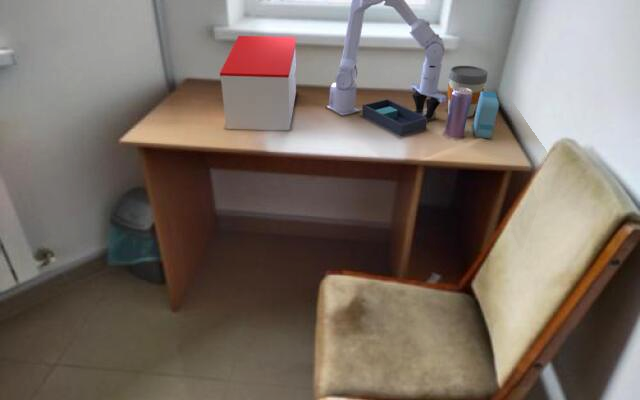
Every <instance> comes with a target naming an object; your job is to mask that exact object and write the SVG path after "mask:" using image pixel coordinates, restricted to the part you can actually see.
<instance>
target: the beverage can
mask: <svg viewBox="0 0 640 400" xmlns="http://www.w3.org/2000/svg"><path fill="white" fill-rule="evenodd" d="M471 98H472V90H471V89H468V88H464V87H457V88H454V89H453V92H452V96H451V101H450V106H449V111H448V110H447V117H446V123H445V128H444V134H445V136H447V137H449V138H454V139H459V138H463V136H464V135H465V130H466V127H467V126H466V125H467V120H468V118H469V117H468V112H469V107H470V103H471Z"/></svg>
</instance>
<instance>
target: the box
mask: <svg viewBox="0 0 640 400" xmlns="http://www.w3.org/2000/svg"><path fill="white" fill-rule="evenodd" d="M389 106H390V107H392V108H394V109H397V110H398V115H397V118H395V119H391V118H389V117H387V116H385V115H383V114H381V113H379V112H377V111H375V110H378V109H381V108H385V107H389ZM414 111H415V110H411V109H410V108H407V107H406V106H404V105H401V104H399V103H397V102H395V101H393V100H391V99H388V98H386V99H382V100H377V101H373V102H368V103H364V104H362V111H361V116H362V117H364V118H366V119H367V120H370V121H371V122H373V123H374V124H376V125H378V126H380V127H382V128H384V129H386V130H387V131H389V132H391V133H393V134H395V135H396V136H399V137H404V136H407V135H410V134H413V133H417V132H420V131H423V130H426V129H427V126H428V125H427V124H428V120H427V119H428V118H427V117H425V116H422V115H420V114H418V113H416V112H414Z"/></svg>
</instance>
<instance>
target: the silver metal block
mask: <svg viewBox="0 0 640 400" xmlns="http://www.w3.org/2000/svg"><path fill="white" fill-rule="evenodd" d="M413 111H414V112H416V113H418V114H420V115H422V116H425V117H426V113H427V107H424V108H423V109H420V110H416V109H415V110H413ZM436 117H437V111H436V110H435V112H434V114H433V116H432V118H430V119H427V121H429V120H434V119H436Z"/></svg>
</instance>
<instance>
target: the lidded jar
mask: <svg viewBox="0 0 640 400" xmlns="http://www.w3.org/2000/svg"><path fill="white" fill-rule="evenodd" d="M448 78H449V82H448V84H447V99H448V100H447V101H448V104H447V112H448V111H449V106H450V101H451V96H452V92H453V89H454V88H457V87H464V88H468V89H471V90H472V98H471V103H470V107H469V112H468V117H467V118H470V117H473V115H474V114H475V112H476V109H477V105H478V101H479V97H480V93H481V91H485V88H484V87H485V84H486V83H487V81H488V71H487V70H486V69H484V68H481V67H478V66H472V65H455V66H453V67H451V69H450V72H449V75H448Z"/></svg>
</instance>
